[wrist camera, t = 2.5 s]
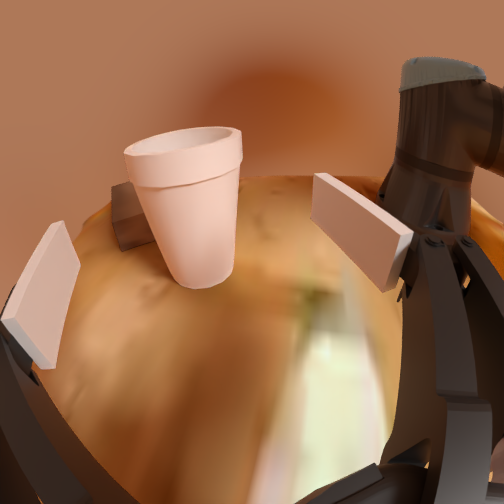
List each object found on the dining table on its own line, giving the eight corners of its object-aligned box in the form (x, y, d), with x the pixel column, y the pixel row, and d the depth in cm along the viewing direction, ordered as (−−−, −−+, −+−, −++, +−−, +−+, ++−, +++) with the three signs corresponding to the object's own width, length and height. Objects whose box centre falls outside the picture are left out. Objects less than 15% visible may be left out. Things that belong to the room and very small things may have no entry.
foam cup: (143, 268, 27) (110, 150, 20) (209, 232, 32) (195, 124, 25) (193, 317, 22) (155, 162, 14) (268, 265, 27) (265, 131, 19)
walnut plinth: (195, 186, 45) (192, 164, 43) (226, 218, 35) (223, 190, 33) (117, 208, 40) (111, 186, 38) (121, 251, 30) (112, 222, 28)
